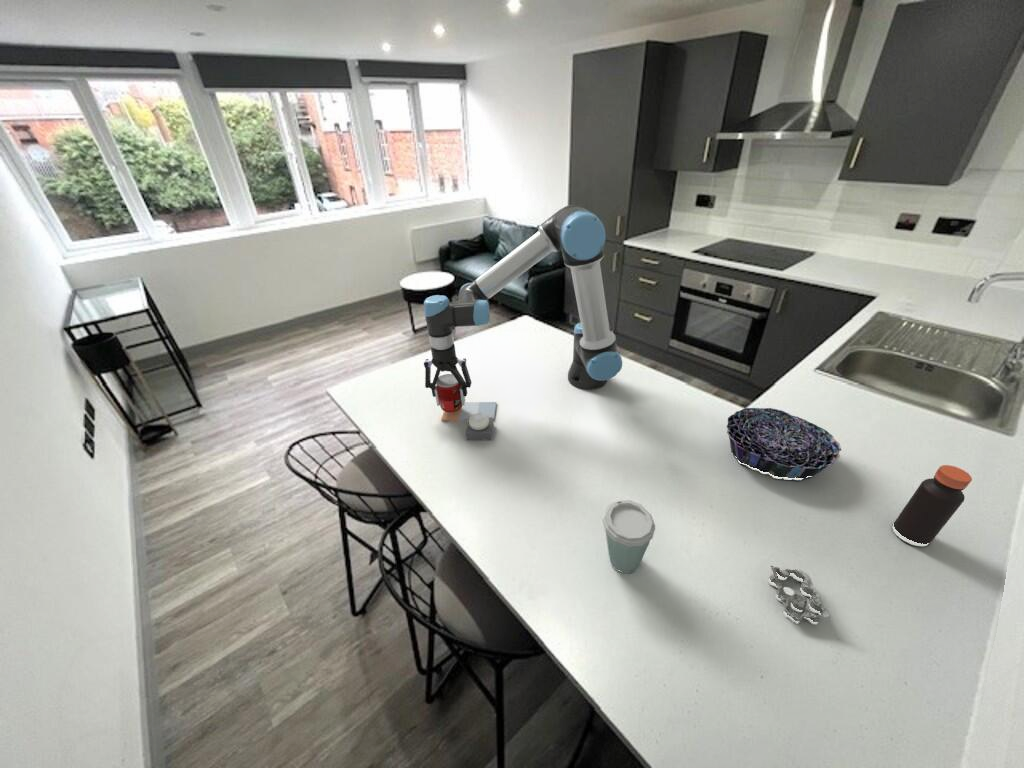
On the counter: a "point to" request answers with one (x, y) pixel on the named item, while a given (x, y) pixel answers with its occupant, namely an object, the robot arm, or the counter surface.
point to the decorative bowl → (780, 443)
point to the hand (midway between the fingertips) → (451, 403)
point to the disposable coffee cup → (627, 534)
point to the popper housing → (480, 432)
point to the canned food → (449, 393)
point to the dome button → (479, 421)
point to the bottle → (933, 504)
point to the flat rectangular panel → (471, 411)
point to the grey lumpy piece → (799, 600)
